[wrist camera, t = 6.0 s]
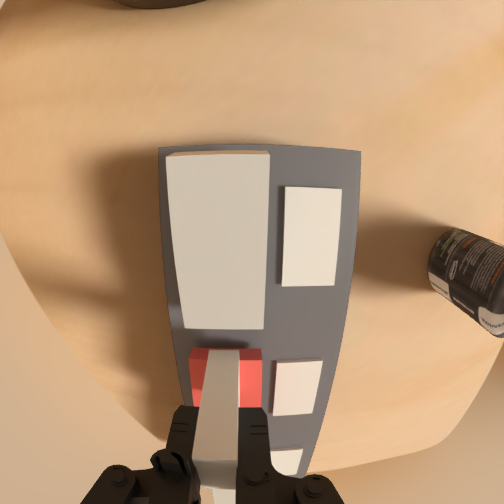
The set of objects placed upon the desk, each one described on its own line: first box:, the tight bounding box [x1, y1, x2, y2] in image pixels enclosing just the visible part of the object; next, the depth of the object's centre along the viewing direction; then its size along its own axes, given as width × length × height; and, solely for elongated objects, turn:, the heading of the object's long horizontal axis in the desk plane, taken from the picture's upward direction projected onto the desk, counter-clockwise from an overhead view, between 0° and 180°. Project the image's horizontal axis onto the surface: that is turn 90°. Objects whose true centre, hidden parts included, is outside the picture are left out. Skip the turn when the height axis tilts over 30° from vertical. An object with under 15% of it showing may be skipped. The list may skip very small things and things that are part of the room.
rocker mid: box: [189, 347, 262, 407], centre depth 15 cm, size 8×4×1 cm, turn 179°
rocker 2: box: [212, 489, 236, 504], centre depth 18 cm, size 8×4×1 cm, turn 179°
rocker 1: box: [166, 150, 270, 329], centre depth 12 cm, size 8×4×1 cm, turn 0°
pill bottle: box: [428, 229, 504, 338], centre depth 15 cm, size 6×6×11 cm
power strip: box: [159, 144, 361, 478], centre depth 19 cm, size 29×10×6 cm, turn 0°
